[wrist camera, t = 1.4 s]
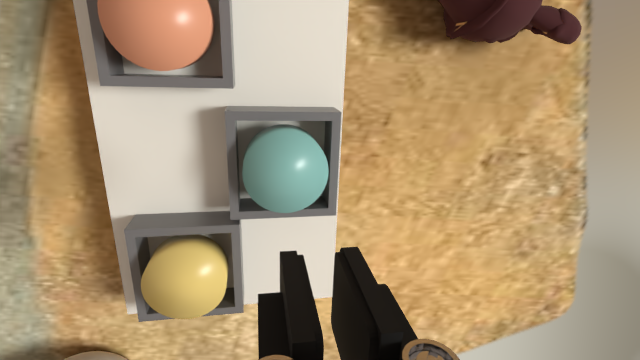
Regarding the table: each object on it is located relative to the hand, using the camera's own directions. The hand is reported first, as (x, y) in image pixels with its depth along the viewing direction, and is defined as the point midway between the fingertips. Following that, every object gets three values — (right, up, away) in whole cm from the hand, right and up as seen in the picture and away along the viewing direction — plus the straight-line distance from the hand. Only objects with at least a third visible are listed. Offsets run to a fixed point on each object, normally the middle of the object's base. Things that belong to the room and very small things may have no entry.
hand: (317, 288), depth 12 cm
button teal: (-3, +5, +14) cm, 15 cm away
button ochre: (-10, -3, +15) cm, 18 cm away
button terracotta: (-9, +13, +9) cm, 19 cm away
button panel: (-7, +6, +17) cm, 20 cm away
